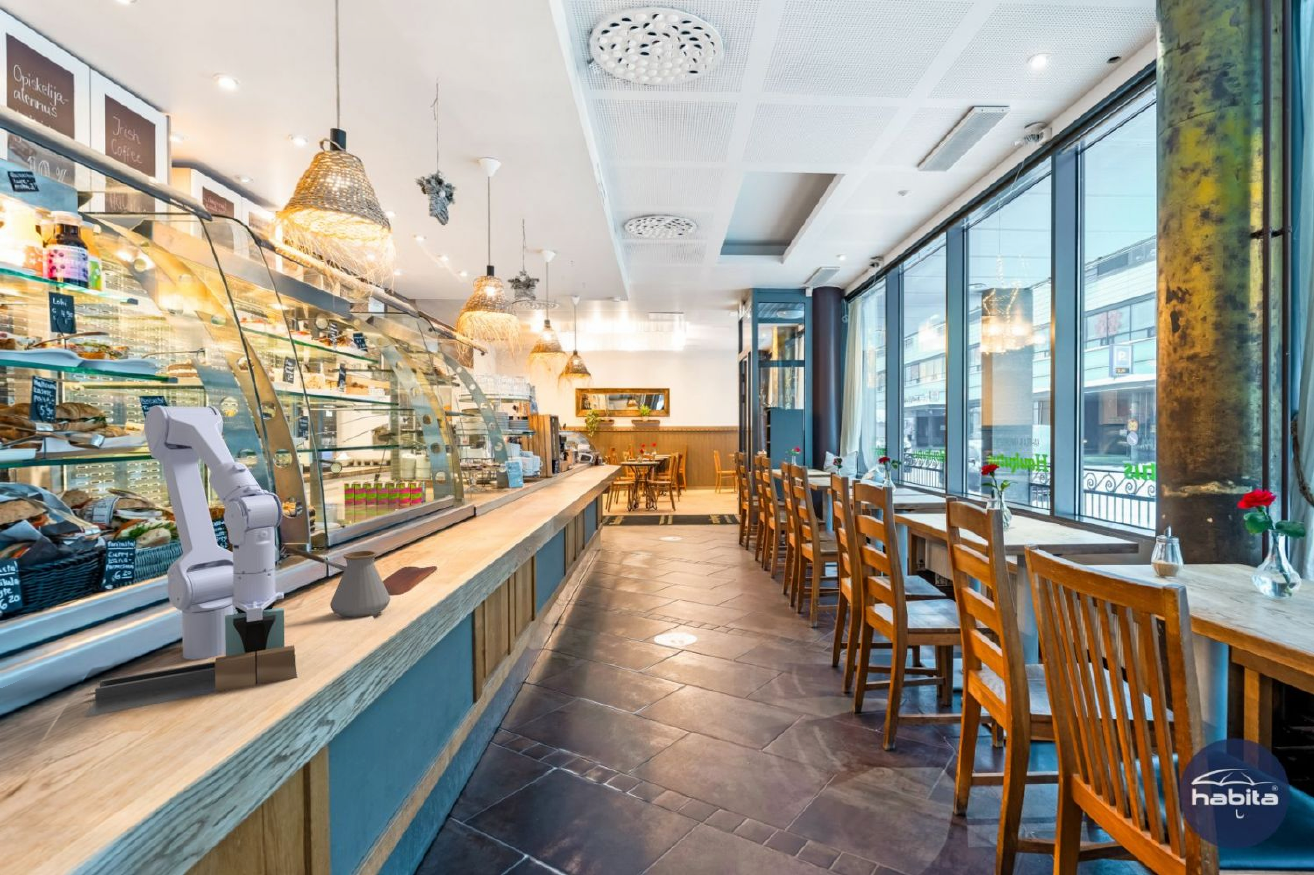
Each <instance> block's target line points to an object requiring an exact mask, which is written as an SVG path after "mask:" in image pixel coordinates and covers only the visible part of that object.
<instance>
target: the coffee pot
mask: <svg viewBox="0 0 1314 875" xmlns="http://www.w3.org/2000/svg"><path fill="white" fill-rule="evenodd" d="M283 550H284V551H283ZM286 551H290V552H292V554H297V555H299V556H301V557H303V558H306V559H309V560H312V561H315V562H318V563H321V564H325V565H327V566H330V567H333V568H336V569H338V570H340V571H343V573H342V575H341V578H340V580H339V582H338V584H337V587H336V590H335V591H334V594H333V596H332V599H331V601H330V603H329V604H330V609H331V610H332V612H333V613H334V614H336V615H337V616H339V617H340V618H341V619H342V620H344V619H352V618H360V617H366V616H371V615H372V617H373V618H375V617H378V616H379V615H381V613H382V611H384V610H385V609H387V607H388V605H389V604H390V601H391V596H389V594H388V592H387V590H386V588H385V585H384V583H383V579H382V578H381V575H380V573H379V571H378V569H377V567H376V565H375V559H376V556H377V555H378V552H377V551H373V550H359V551H352V552H347V553H345V554H343V556H342V557H343V559H345V563H346V565H343V564H339V563H338V562H337V563H336V562H335V561H334V562H333V561H331V560H328V559H326V558H323V557H321V556H318V555H316V554H314V553H311V552H309V551H306V550H302V549H298V547H292V546H290V545H283V547H282V548H281V550H280V551H279V555H281V556H282V555H284V554H285V552H286Z"/></svg>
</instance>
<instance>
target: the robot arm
mask: <svg viewBox="0 0 1314 875" xmlns="http://www.w3.org/2000/svg"><path fill="white" fill-rule="evenodd" d="M143 425H144V426H143V428H144V429H143V430H144V435H145V436H146V437H145V438H146V442H147V447H148V450H149V452H150V456H151V458H153V459H155V460H156V461H159V462H161V466H162V470H163V475H164V479H165V483H166V486H167V490H168V495H169V496H168V497H169V500H170V503H171V508H172V512H173V516H174V520H175V524H176V529H177V532H178V533H177V534H178V538H179V541H180V546H181V550H182V554H181V555H180V556H179V557H178V558H177V559H176V560H175V561H174V562H173V563H171V565H170V566H169V568H168V569H167V572H166V575H167V596H168V600H169V602H170V603H171V605H172V606H173V607H174V608H175V609H177V610H178V611H181V621H182V622H181V624H182V626H181V628H182V631H181V632H182V634H181V635H182V657H183V658H184V659H187V660H204V659H205V660H206V659H210V658H211V659H212V658H217V657H220V656H222V655H224V654H225V655H226V644H225V615H232V614H234V607H235V611H236V612H237V614H240V613H247V617H242V618H234V619H233V625H234V627H235V629H236V630H237V631H238V633H239V635H240V637H241V640H242V643H243V647H244V651H245V653H249V652H255V661H257V651H262V650H266V645H267V640H268V635H269V632H270V630H271V627H272V625H273V624H274V622H275V619H276V615H271V616H264V617H263V615H262V611H263V610H270V609H274V606H275V605H276V604H275V603H276V601H277V600H282V599H284V597H285V595H284V594H285V593H284V592H283V591H280V592H279V591H278V592H276V547H275V546H276V543H275V541H276V539H275V538H276V535H275V534H276V533H275V529H276V528H278V527H279V526H280V525H281V523H282V520H283V507H282V502H281V501H280V499H279V496H278V495H277V494H276V493H274V492H269V491H268V490H267V489H262V487H261V486H260V484H259V483H258V481H257V480H256V478H255V477H254V476H253V474H252V473H251V471H250V469H249V468H248V466H247V465H246V464H244V463H243V462H238V461H235V460H234V458H233V456H232V454H231V451H230V450H229V448H228V446H227V444H226V442H225V439H224V438H223V430H224V429H223V428H224V422H223V416H222V414H221V412H220V411H219V410H218V408H217V407H215V406H213V405H210V406H209V405H208V406H162V405H152V407H150V409H149V410H148V411H147V413H146V415H145V420H144V424H143ZM200 460H201V461H202V462H203V463H204V465H206V467H207V468H208V469H209V470H210V472H211V473H210V474H209V477H208V483H209V485H210V486H211V488H212V489H213V491H214V493H215V494H216V496H217V497H218V499H219V501H220V503H221V504H222V505H223V507H224V513H223V520H224V524H225V528H226V529H227V533H228V541H229V543H230V544H231V545H232V551H230V550H228V549H226V548H224V547H222V546H220V545H219V544H218V541H217V537H216V533H215V529H214V525H213V521H212V517H211V512H210V508H209V505H208V501H207V496H206V492H205V488H204V485H203V484H204V483H203V480H202V476H201V472H200V468H199V464H198V463H199V461H200Z"/></svg>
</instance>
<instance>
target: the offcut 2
mask: <svg viewBox="0 0 1314 875" xmlns="http://www.w3.org/2000/svg"><path fill="white" fill-rule="evenodd" d="M295 650H296V649H295V645H294V644H293V645H287V646H284V647H280V648H274V649H268V650H262V651H257V685H256V686H259V685H258V684H261V685H265V684H264V683H267V684H270V683H269V682H272V683H276V682H275V681H278V682H281V681H280V680H283V681H286V680H285V679H288V680H292V679H291V678H294V679H296V678H295V663H296V654H295Z"/></svg>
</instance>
